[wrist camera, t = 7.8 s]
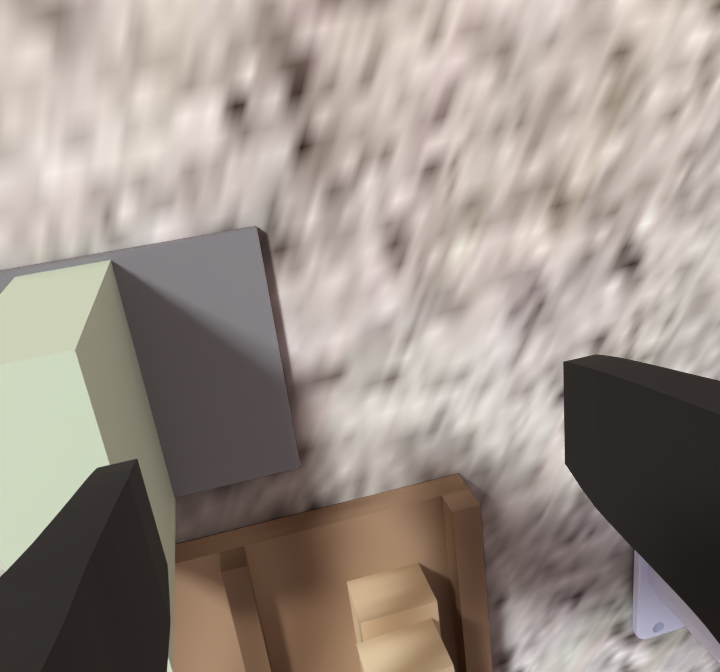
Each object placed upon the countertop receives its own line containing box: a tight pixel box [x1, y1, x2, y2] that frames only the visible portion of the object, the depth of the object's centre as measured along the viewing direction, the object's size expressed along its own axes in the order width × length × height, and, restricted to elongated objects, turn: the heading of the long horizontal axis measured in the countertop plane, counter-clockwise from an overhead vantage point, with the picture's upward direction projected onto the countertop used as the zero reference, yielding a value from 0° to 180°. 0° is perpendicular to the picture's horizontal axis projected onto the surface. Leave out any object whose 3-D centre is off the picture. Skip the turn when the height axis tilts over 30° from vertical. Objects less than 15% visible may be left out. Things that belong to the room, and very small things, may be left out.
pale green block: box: [0, 260, 176, 672], centre depth 17 cm, size 2×8×7 cm, turn 7°
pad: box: [0, 226, 301, 498], centre depth 20 cm, size 10×8×1 cm
